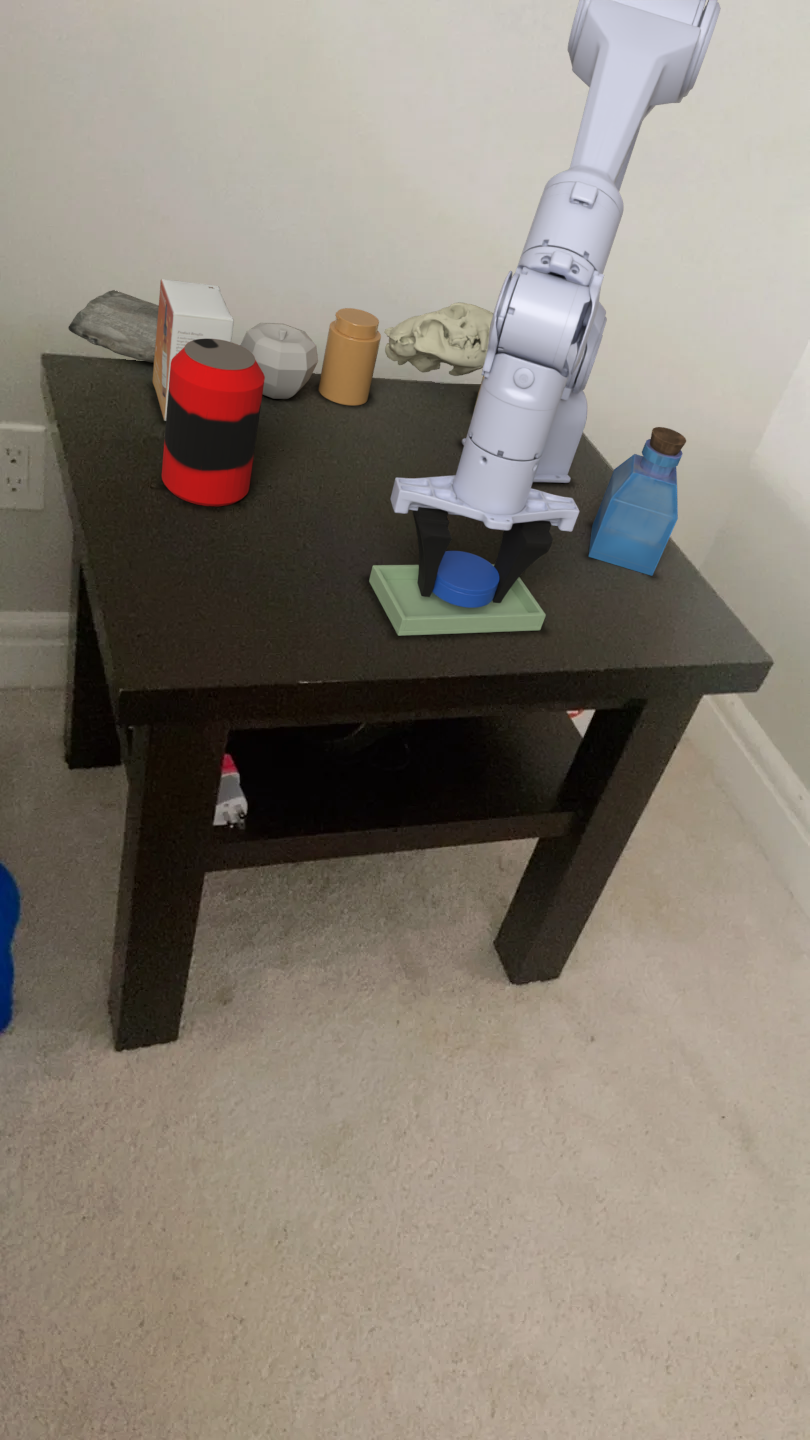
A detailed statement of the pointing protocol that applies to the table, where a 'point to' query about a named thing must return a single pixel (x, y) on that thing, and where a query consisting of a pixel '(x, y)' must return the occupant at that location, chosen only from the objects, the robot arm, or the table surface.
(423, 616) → the tray
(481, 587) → the lid
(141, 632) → the table surface
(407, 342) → the animal skull
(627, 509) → the perfume bottle
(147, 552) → the table surface
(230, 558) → the table surface
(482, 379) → the rubik's cube
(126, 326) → the stone
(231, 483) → the soda can
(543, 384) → the robot arm
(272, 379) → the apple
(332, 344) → the jar
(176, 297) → the small box
